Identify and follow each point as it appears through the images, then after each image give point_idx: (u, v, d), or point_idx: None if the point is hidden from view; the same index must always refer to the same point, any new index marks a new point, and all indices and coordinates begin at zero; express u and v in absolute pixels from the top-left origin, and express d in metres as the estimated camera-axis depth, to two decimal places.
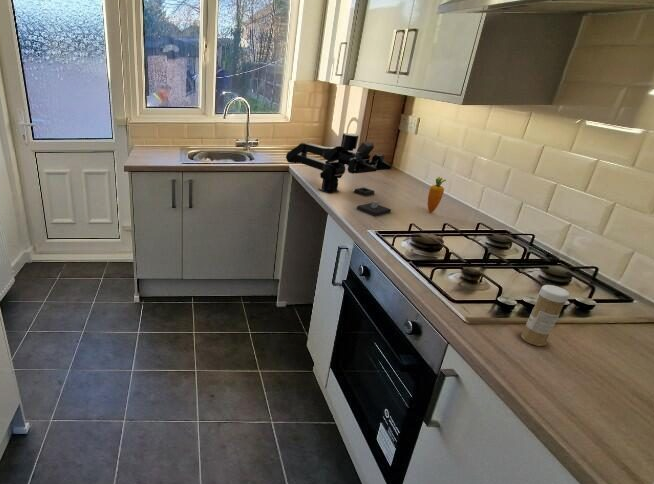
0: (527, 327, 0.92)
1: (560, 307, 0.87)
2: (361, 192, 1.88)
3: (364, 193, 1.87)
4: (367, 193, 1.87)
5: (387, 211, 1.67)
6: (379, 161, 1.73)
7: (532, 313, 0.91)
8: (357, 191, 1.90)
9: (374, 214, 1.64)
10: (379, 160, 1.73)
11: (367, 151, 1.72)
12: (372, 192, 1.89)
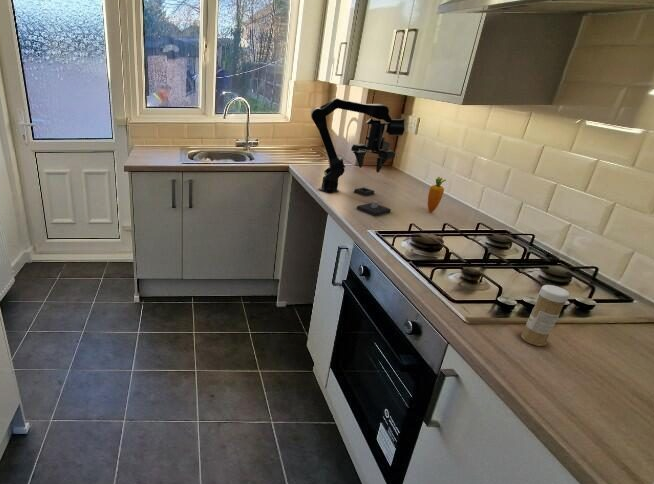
0: (527, 327, 0.92)
1: (560, 307, 0.87)
2: (361, 192, 1.88)
3: (364, 193, 1.87)
4: (367, 193, 1.87)
5: (387, 211, 1.67)
6: (363, 154, 1.88)
7: (532, 313, 0.91)
8: (357, 191, 1.90)
9: (374, 214, 1.64)
10: (364, 153, 1.88)
11: None
12: (372, 192, 1.89)
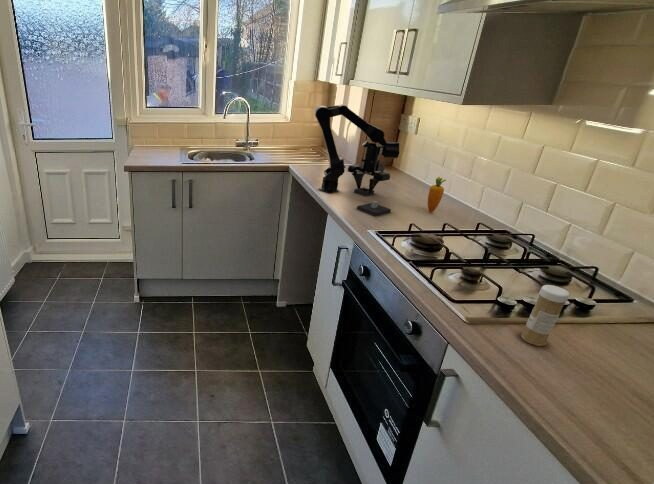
0: (527, 327, 0.92)
1: (560, 307, 0.87)
2: (361, 192, 1.88)
3: (364, 193, 1.87)
4: (367, 193, 1.87)
5: (387, 211, 1.67)
6: (362, 175, 1.91)
7: (532, 313, 0.91)
8: (357, 191, 1.90)
9: (374, 214, 1.64)
10: (362, 175, 1.91)
11: None
12: (372, 192, 1.89)
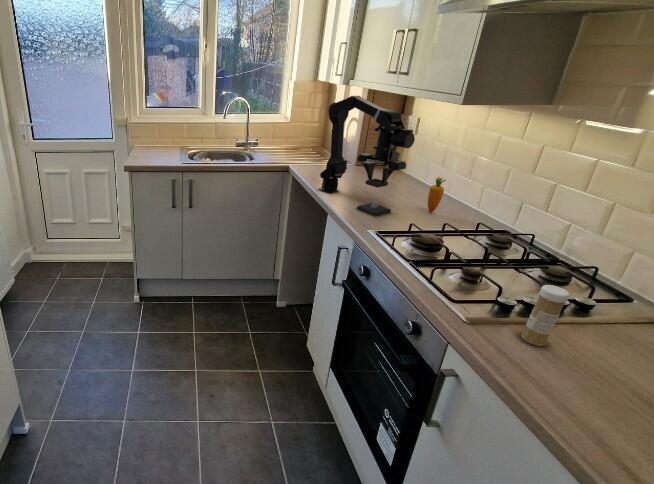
0: (527, 327, 0.92)
1: (560, 307, 0.87)
2: (373, 183, 1.69)
3: (377, 184, 1.67)
4: (380, 184, 1.67)
5: (387, 211, 1.67)
6: (373, 165, 1.71)
7: (532, 313, 0.91)
8: (369, 182, 1.70)
9: (374, 214, 1.64)
10: (374, 164, 1.71)
11: None
12: (385, 183, 1.69)
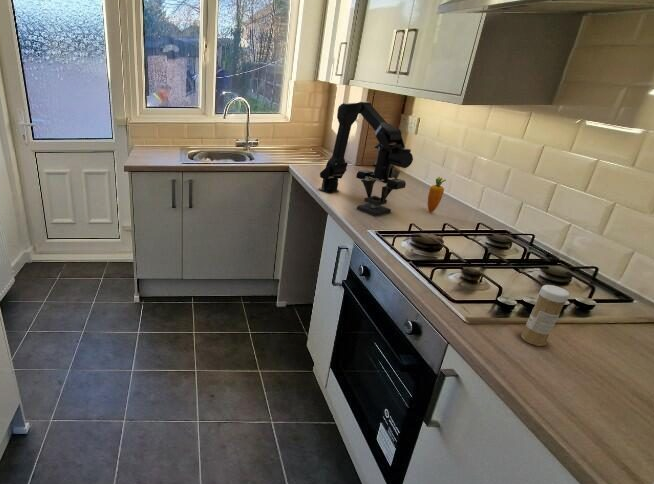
0: (527, 327, 0.92)
1: (560, 307, 0.87)
2: (372, 201, 1.66)
3: (376, 203, 1.64)
4: (379, 203, 1.65)
5: (387, 211, 1.67)
6: (373, 182, 1.68)
7: (532, 313, 0.91)
8: (367, 200, 1.68)
9: (374, 214, 1.64)
10: (373, 182, 1.68)
11: None
12: (385, 201, 1.66)
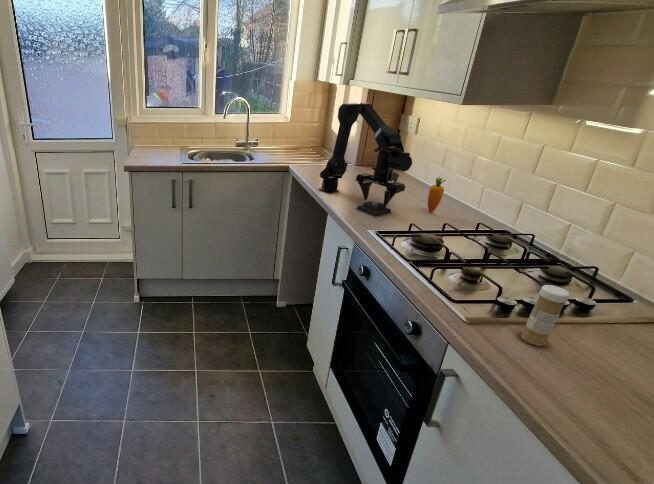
0: (527, 327, 0.92)
1: (560, 307, 0.87)
2: (371, 206, 1.67)
3: (374, 207, 1.65)
4: (378, 207, 1.65)
5: (387, 211, 1.67)
6: (369, 184, 1.70)
7: (532, 313, 0.91)
8: (366, 205, 1.68)
9: (374, 214, 1.64)
10: (370, 184, 1.70)
11: None
12: (383, 206, 1.67)
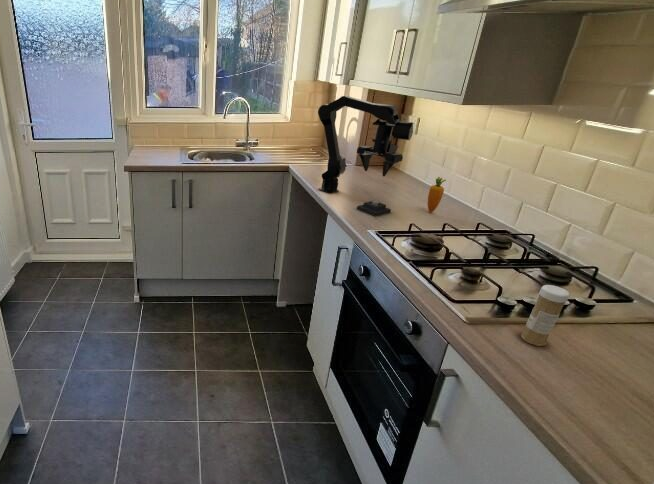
0: (527, 327, 0.92)
1: (560, 307, 0.87)
2: (371, 206, 1.67)
3: (374, 207, 1.65)
4: (378, 207, 1.65)
5: (387, 211, 1.67)
6: (369, 156, 1.80)
7: (532, 313, 0.91)
8: (366, 205, 1.68)
9: (374, 214, 1.64)
10: (370, 156, 1.80)
11: None
12: (383, 206, 1.67)
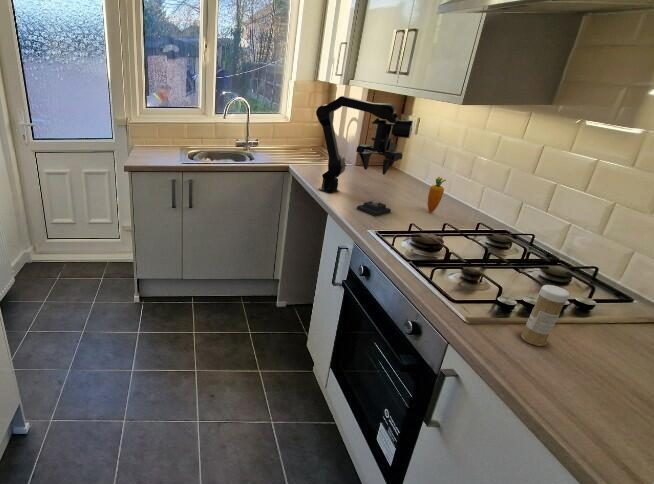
0: (527, 327, 0.92)
1: (560, 307, 0.87)
2: (371, 206, 1.67)
3: (374, 207, 1.65)
4: (378, 207, 1.65)
5: (387, 211, 1.67)
6: (369, 155, 1.81)
7: (532, 313, 0.91)
8: (366, 205, 1.68)
9: (374, 214, 1.64)
10: (369, 154, 1.81)
11: None
12: (383, 206, 1.67)
